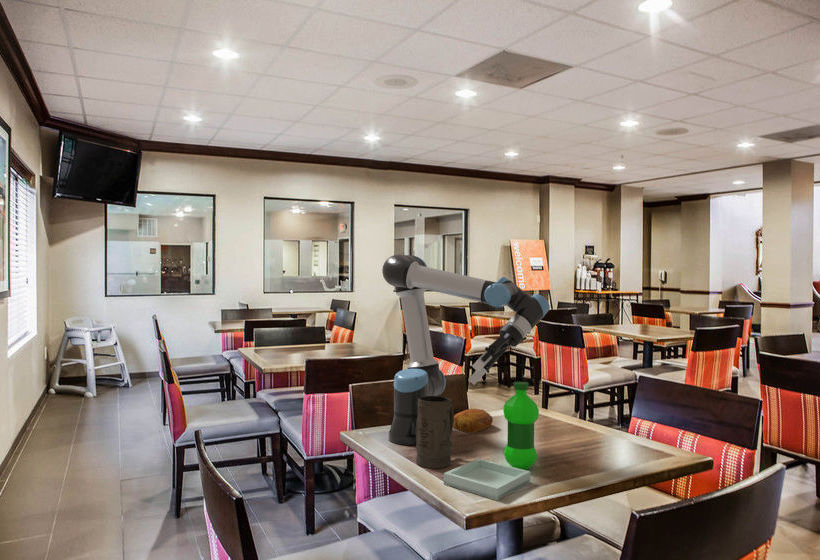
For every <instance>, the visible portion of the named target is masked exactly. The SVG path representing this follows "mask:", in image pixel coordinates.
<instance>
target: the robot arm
mask: <svg viewBox="0 0 820 560" xmlns="http://www.w3.org/2000/svg"><path fill="white" fill-rule="evenodd" d="M381 271H382V276H383V279H384V281H385V282H386V283H387V284H388V285H390V286H392V287H394V289H395V294H396V295H397V296H398V297H399V298H400V300H401V302H400V303H401V306H402V307H401V308H402V315H403V319H404V320H403V321H404V328H405V333H406V339H407V345H408V352H409V353H408V354H409V360H410V361H409V364H408V365H407V369H402V370H399V371H398V372H397V373H395V375H394V381H393V419H392V421H391V425H390V428H389V429H390V430H389V431H388V440H389V442H391V443H394V444H397V445H405V446H416V434H417V418H418V399H419V398H420V397H423V396H441V394H442V393H443V392H444V391H445V388H446V381H447V380H446V376H445V374H444V372H443V371H442V370H441V369H440V365H439V363H440V362H439V360H437V359H435V357H434V353H433V346H432V339H431V334H430V328H429V327H430V326H429V319H428V313H427V308H426V301H425V292H426V291H431V292H437V293H440V294H444V295H449V296H453V297H456V298H461V299H465V300H470V301H474V302H479V303H483V304H487V305H490V306H491V307H493V308H503V307H504V306H506V307H508V308H509V309H510V310H512V311H513V312H514V314H513V316H512V317H511V318H510V319H508V321H506V324H504V325H503V326H502V327H501V328H500V330H499V331H498V334H499V335H498V336H499V337H498V338H496V339H495V340H494V341H493V342H492V343H490V345H488V346H486V347H485V348H484V350H485V351H484V353H482V355H480V356H479V358H478V359H477V360H476V361H475V362H474V363H473V364H472V365H471V367H472V368H473V369H474V372H473V374H472V375H471V376H470V377H469V378H468V379H467V380H468V381H469V382H470V383H471V384H472V385H473V386H475V385H476V384H477V383H478V382H479V381H480V380H481V378H482V377H483V376H484V375H485V374H486V373H487V374H489V373H490V369H491V368H492V367H493V366H494V364H495V363H496V362H497V361H498V359H500V357H501V356H502V355H503V354H504V353H506V351H507V350H508V347H509V346H510V347H513V348H516V347H517V346H518V345H519V344H520V343H521V342H522V341H523V339H524V338H525V337H527V336H528V335H531V331H532V330H533V329H534V328H535V327H536V326H537V324H538V323H540V321H542V319H543V318H544V317H545V315H547V313H548V312H549V311H550V308H551V306H550V302H549V301H548V300H547V298H545V297H544V296H543V295H540V294H539V293H534V294H533V295H529V294H528V293H527V292H525V291H524V290H523V289H522V288H520V287H519V286H518V285H517V284H515V282H513V281H512V280H510V279H509V278H507V277H505V276H501V277H500V278H499V279H497V280H496V281H491V280H487V279H482V278H477V277H473V276H469V275H465V274H460V273H456V272H450V271H446V270H441V269H437V268H432V267H429V266H428V265H427V263H426V262H425V260H424V259H422V258H421V257H418V256H417V255H412V254H394V255H391V256H390V257H388V258H387V259H386V260H385V261H384V263H383V265H382V269H381Z"/></svg>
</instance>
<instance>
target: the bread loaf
mask: <svg viewBox="0 0 820 560" xmlns="http://www.w3.org/2000/svg"><path fill="white" fill-rule="evenodd" d="M493 419H494V418H493V416H492V415H490V413H488V412H487V411H486V410H484V409H480V408H468V409H465V410H463V411H460V412H458V413H455V414H454V424H453V429H454V428H455V429H454V430H456V429H459V431H460V430H461V432H464V431H465V433H468V432H475V433H479V432H482V431H484V429H485V430H486V429H489V428H490V427H491V426H492V424H493Z"/></svg>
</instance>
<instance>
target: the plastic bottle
mask: <svg viewBox="0 0 820 560" xmlns="http://www.w3.org/2000/svg"><path fill="white" fill-rule="evenodd" d="M513 389H514V390H515V394H514V395H512V396H511V397H510V398H508V399H507V400H506V401H505V402H504V405H503V415H504V418H505V420H506V421H507V442H506V445H505V447H504V449H503V450H504V452H503V455H504V458H505V461H506V463H508V464H509V466H511V467H515V468H519V469H523V470H525V469H527V470H528V469H530V468H531V467H532V466H533V465H535V464H536V462H537V460H538V452H537V449H536V448H535V423H536V422H537V421H538V420H539V416H540V414H539V413H540V410H539V407H538V404H537V403H536V401H534V400H533V399H532V397H530V396H529V395H528V394H527V391H528V390H529V382H527V381H514V382H513Z"/></svg>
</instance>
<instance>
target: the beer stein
mask: <svg viewBox="0 0 820 560" xmlns="http://www.w3.org/2000/svg"><path fill="white" fill-rule="evenodd" d="M454 412H455V411H454V407H453V399H450V398H449V397H446V396H441V395H439V396H423V397H420V398H419V399H418V418H417V434H416V445H415V446H416V447H415V449H416V457H415V458H416V459H415V462H416V464H417V465H418V466H419V467H422V468H426V469H444V468H447V467H449V466H450V465H451V464H452V458H451V453H452V448H451V447H452V446H453V442H452V439H451V437H452V432H453V429H454V427H453V424H454V415H455V413H454Z"/></svg>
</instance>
